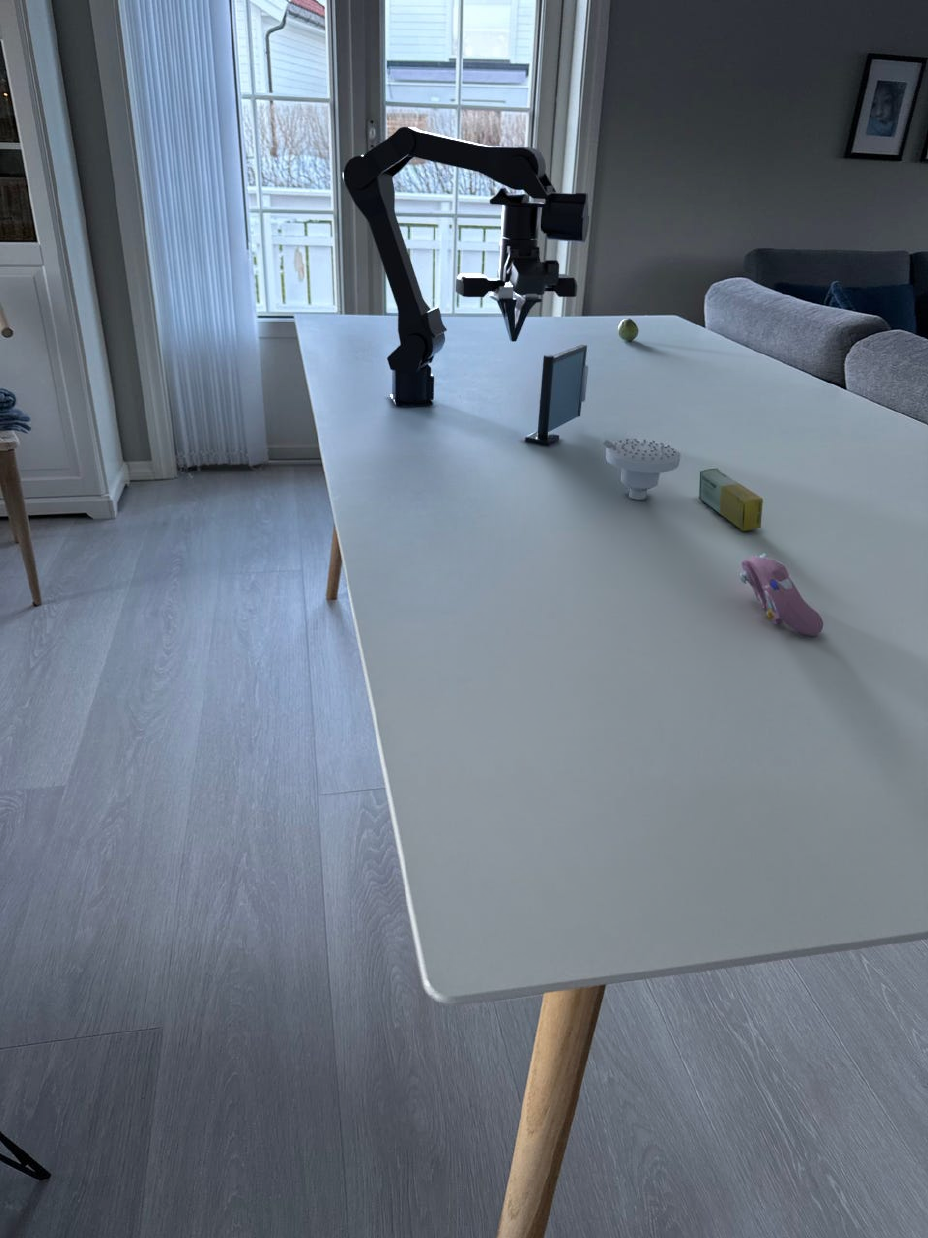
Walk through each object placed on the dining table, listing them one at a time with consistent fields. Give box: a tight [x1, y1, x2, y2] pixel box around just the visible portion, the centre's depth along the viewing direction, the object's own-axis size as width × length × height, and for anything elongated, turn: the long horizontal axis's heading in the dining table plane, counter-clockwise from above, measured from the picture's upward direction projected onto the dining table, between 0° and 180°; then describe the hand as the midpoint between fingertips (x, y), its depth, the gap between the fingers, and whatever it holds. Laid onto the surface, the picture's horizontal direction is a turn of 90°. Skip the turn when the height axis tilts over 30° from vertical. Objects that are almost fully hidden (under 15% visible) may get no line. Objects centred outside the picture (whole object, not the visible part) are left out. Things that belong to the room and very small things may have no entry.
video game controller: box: [739, 552, 824, 637], centre depth 89 cm, size 10×5×7 cm, turn 5°
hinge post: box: [524, 354, 560, 448], centre depth 136 cm, size 4×4×13 cm
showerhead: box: [602, 438, 681, 501], centre depth 117 cm, size 9×7×10 cm
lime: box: [617, 318, 639, 342], centre depth 212 cm, size 4×5×5 cm
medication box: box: [698, 468, 764, 532], centre depth 113 cm, size 12×3×4 cm, turn 13°
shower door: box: [548, 344, 589, 433], centre depth 141 cm, size 2×12×11 cm, turn 150°
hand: (513, 341), depth 147 cm, fingers closed
